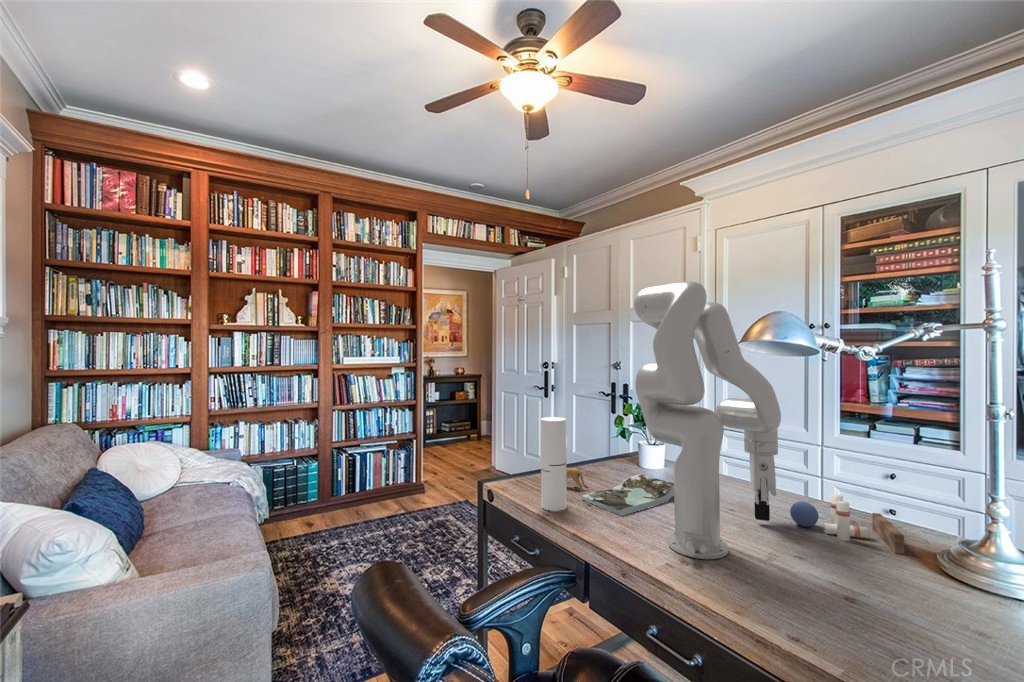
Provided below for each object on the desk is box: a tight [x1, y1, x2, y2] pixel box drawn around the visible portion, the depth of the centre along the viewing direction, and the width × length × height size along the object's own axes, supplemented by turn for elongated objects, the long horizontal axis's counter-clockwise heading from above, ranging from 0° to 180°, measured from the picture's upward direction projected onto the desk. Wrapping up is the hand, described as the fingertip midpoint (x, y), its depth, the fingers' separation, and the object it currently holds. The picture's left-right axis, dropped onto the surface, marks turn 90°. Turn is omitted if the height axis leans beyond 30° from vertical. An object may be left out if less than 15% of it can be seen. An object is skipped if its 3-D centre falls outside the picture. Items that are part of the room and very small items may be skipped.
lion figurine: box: [566, 467, 590, 491], centre depth 146 cm, size 15×5×9 cm, turn 71°
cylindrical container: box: [540, 416, 568, 512], centre depth 129 cm, size 7×7×25 cm
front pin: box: [823, 522, 871, 539], centre depth 107 cm, size 3×3×8 cm
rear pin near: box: [836, 500, 851, 542], centre depth 105 cm, size 3×3×8 cm
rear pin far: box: [830, 493, 844, 524], centre depth 110 cm, size 3×3×8 cm
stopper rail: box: [872, 512, 905, 555], centre depth 104 cm, size 14×2×4 cm, turn 157°
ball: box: [789, 500, 819, 528], centre depth 113 cm, size 6×6×6 cm
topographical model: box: [581, 473, 674, 517], centre depth 134 cm, size 26×15×5 cm, turn 124°
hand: (762, 518), depth 114 cm, fingers closed
